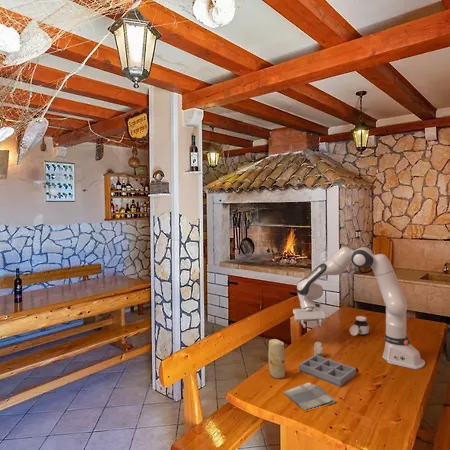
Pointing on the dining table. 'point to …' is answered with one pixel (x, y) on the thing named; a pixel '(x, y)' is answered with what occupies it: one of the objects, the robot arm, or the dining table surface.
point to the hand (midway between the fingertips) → (312, 327)
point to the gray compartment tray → (327, 370)
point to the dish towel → (309, 396)
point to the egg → (318, 349)
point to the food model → (276, 358)
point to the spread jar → (359, 326)
